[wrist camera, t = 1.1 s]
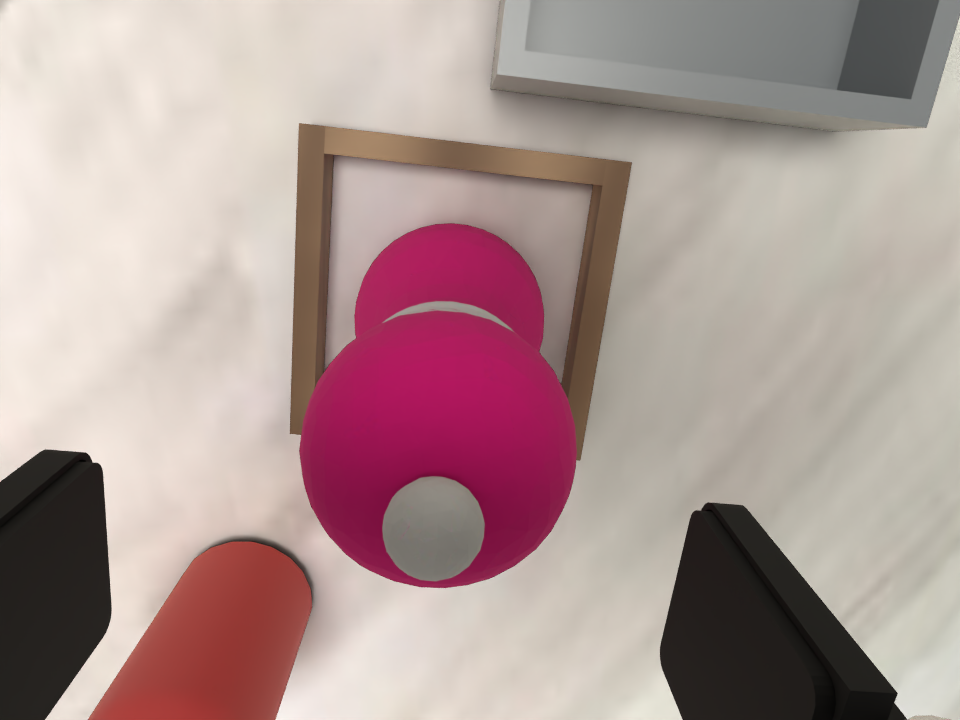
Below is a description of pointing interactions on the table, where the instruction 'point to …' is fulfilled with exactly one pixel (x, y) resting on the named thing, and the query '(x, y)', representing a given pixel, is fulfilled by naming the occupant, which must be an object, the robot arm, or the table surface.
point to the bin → (734, 57)
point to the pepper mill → (441, 416)
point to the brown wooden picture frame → (329, 141)
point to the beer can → (217, 641)
